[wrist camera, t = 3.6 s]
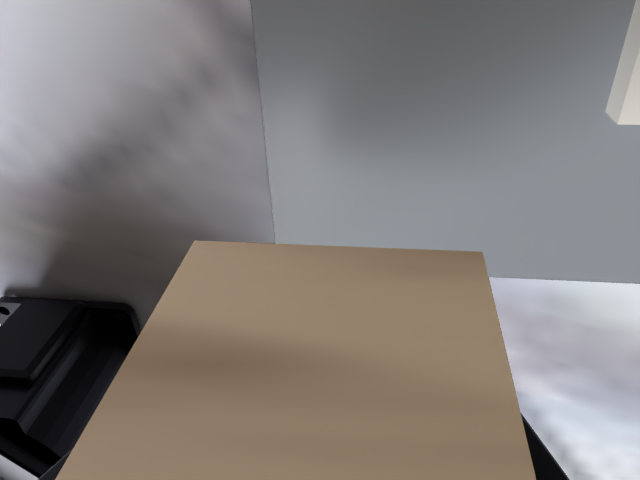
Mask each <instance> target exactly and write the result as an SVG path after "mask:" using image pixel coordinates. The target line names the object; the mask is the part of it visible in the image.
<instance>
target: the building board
mask: <svg viewBox="0 0 640 480" xmlns="http://www.w3.org/2000/svg"><path fill="white" fill-rule="evenodd" d="M251 10H252V20H253V30H254V40H255V49H256V59H257V69H258V79H259V89H260V99H261V108H262V118H263V128H264V138H265V148H266V157H267V167H268V177H269V187H270V197H271V206H272V216H273V226H274V236H275V244H299V245H324V246H350V247H375V248H400V249H426V250H451V251H476V252H483V256H484V260H485V264H486V268H487V273H488V277H500V278H522V279H545V280H567V281H590V282H612V283H634V284H640V0H251Z"/></svg>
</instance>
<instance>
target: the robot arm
mask: <svg viewBox="0 0 640 480" xmlns="http://www.w3.org/2000/svg"><path fill="white" fill-rule="evenodd" d="M122 314H123V315H122ZM0 323H1V326H0V480H55V479H56V477H57V475H58V474H59V472H60V470H61V469H62V467H63V465H64V463H65V462H66V460H67V458H68V457H69V455H70V453H71V451H72V450H73V448H74V446H75V445H76V443H77V441H78V439H79V438H80V436H81V434H82V433H83V431H84V429H85V427H86V426H87V424H88V422H89V421H90V419H91V417H92V415H93V414H94V412H95V410H96V409H97V407H98V405H99V403H100V402H101V400H102V398H103V397H104V395H105V393H106V391H107V390H108V388H109V386H110V384H111V383H112V381H113V379H114V378H115V376H116V374H117V372H118V371H119V369H120V367H121V366H122V364H123V362H124V360H125V359H126V357H127V355H128V354H129V352H130V350H131V348H132V347H133V345H134V343H135V342H136V340H137V338H138V336H139V335H140V333H141V329H140V326H139V323H138V320H137V316H136V313H135V311H134V309H133V308H132V307H131V306H129V305H127V304H124V303H114V302H96V301H78V300H60V299H42V298H23V297H1V298H0ZM521 417H522V421H523V425H524V430H525V434H526V438H527V442H528V447H529V451H530V455H531V459H532V463H533V468H534V472H535V476H536V480H569V478H568V477H567V475H566V474H565V473H564V471H563V470H562V469H561V467H560V466H559V464H558V463H557V462H556V460H555V459H554V458H553V456H552V455H551V454H550V452H549V451H548V449H547V448H546V447H545V445H544V444H543V443H542V441H541V440H540V438H539V437H538V436H537V434H536V433H535V432H534V430H533V429H532V428H531V426H530V425H529V423H528V422H527V421H526V419H525V418H524V417H523V415H522V414H521Z"/></svg>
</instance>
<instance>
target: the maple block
mask: <svg viewBox="0 0 640 480" xmlns="http://www.w3.org/2000/svg"><path fill="white" fill-rule="evenodd" d="M55 480H536V476H535V472H534V468H533V463H532V459H531V455H530V451H529V447H528V442H527V438H526V434H525V430H524V425H523V421H522V417H521V413H520V408H519V404H518V400H517V396H516V391H515V387H514V383H513V379H512V374H511V370H510V366H509V362H508V357H507V353H506V349H505V345H504V340H503V336H502V332H501V328H500V324H499V319H498V315H497V311H496V307H495V302H494V298H493V294H492V290H491V285H490V281H489V277H488V273H487V268H486V264H485V260H484V256H483V252H476V251H451V250H426V249H400V248H375V247H350V246H324V245H299V244H273V243H248V242H223V241H197V240H194V242H193V244H192V245H191V247H190V249H189V251H188V252H187V254H186V256H185V257H184V259H183V261H182V263H181V264H180V266H179V268H178V269H177V271H176V273H175V275H174V276H173V278H172V280H171V281H170V283H169V285H168V287H167V288H166V290H165V292H164V294H163V295H162V297H161V299H160V300H159V302H158V304H157V306H156V307H155V309H154V311H153V312H152V314H151V316H150V318H149V319H148V321H147V323H146V324H145V326H144V328H143V330H142V331H141V333H140V335H139V336H138V338H137V340H136V342H135V343H134V345H133V347H132V348H131V350H130V352H129V354H128V355H127V357H126V359H125V360H124V362H123V364H122V366H121V367H120V369H119V371H118V372H117V374H116V376H115V378H114V379H113V381H112V383H111V384H110V386H109V388H108V390H107V391H106V393H105V395H104V397H103V398H102V400H101V402H100V403H99V405H98V407H97V409H96V410H95V412H94V414H93V415H92V417H91V419H90V421H89V422H88V424H87V426H86V427H85V429H84V431H83V433H82V434H81V436H80V438H79V439H78V441H77V443H76V445H75V446H74V448H73V450H72V451H71V453H70V455H69V457H68V458H67V460H66V462H65V463H64V465H63V467H62V469H61V470H60V472H59V474H58V475H57V477H56V479H55Z"/></svg>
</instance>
